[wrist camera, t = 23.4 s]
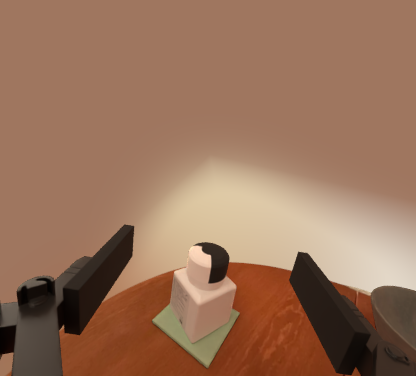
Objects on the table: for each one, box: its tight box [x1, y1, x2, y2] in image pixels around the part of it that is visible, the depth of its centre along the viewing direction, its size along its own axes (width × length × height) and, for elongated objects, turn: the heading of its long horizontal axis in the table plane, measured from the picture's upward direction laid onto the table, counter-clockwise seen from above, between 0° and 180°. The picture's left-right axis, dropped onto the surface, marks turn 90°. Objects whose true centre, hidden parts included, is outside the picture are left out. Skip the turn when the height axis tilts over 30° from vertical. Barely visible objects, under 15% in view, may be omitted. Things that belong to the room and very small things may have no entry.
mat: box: [152, 304, 239, 369], centre depth 35 cm, size 11×11×1 cm
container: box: [170, 242, 236, 343], centre depth 33 cm, size 8×8×13 cm
